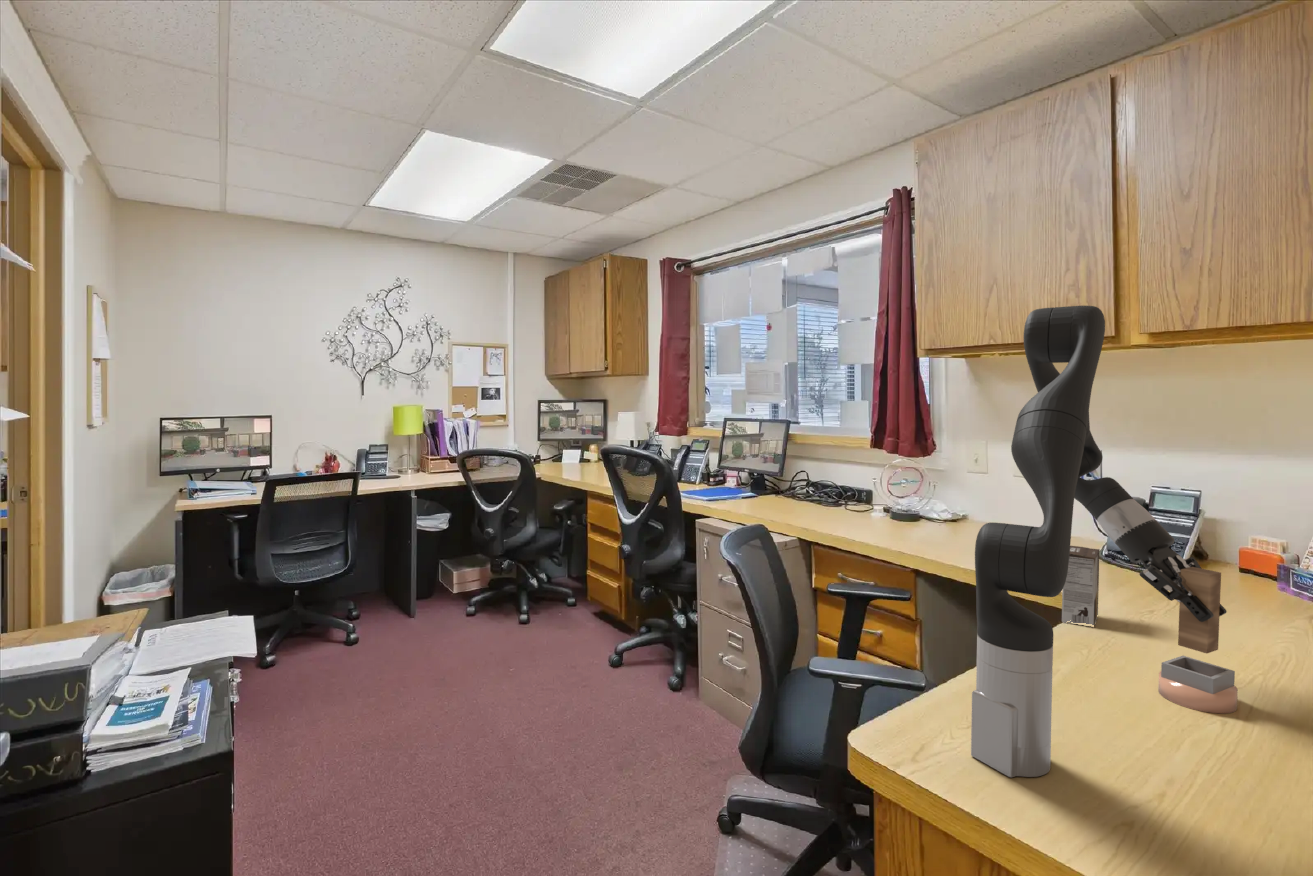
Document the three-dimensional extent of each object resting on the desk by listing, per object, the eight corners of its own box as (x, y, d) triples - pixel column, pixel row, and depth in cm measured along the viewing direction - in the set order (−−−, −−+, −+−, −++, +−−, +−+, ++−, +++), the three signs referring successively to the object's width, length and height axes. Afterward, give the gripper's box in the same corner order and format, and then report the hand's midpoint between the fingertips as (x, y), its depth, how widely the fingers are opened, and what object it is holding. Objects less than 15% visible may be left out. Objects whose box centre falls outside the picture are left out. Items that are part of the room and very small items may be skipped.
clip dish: (1217, 718, 99) (1218, 684, 99) (1145, 692, 108) (1146, 661, 108) (1249, 705, 103) (1250, 672, 103) (1177, 681, 112) (1178, 651, 112)
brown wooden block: (1206, 653, 103) (1209, 575, 102) (1178, 645, 106) (1180, 569, 105) (1218, 649, 104) (1221, 572, 103) (1189, 641, 108) (1192, 566, 107)
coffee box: (1065, 611, 149) (1067, 544, 149) (1098, 617, 145) (1100, 548, 144) (1060, 622, 142) (1062, 552, 141) (1094, 628, 138) (1096, 556, 137)
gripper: (1127, 522, 108) (1212, 613, 97) (1173, 514, 114) (1257, 599, 103) (1094, 546, 113) (1171, 635, 102) (1139, 538, 119) (1216, 621, 109)
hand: (1214, 617), depth 103 cm, fingers closed on brown wooden block, 3 cm apart
